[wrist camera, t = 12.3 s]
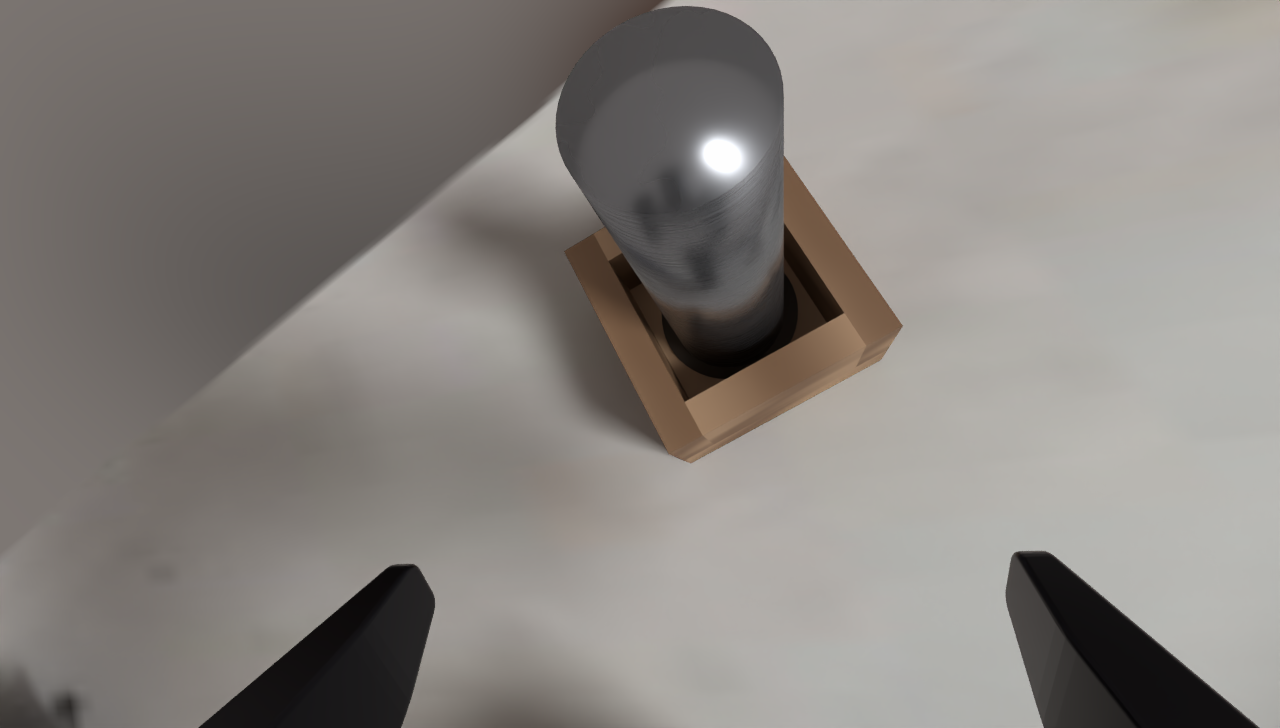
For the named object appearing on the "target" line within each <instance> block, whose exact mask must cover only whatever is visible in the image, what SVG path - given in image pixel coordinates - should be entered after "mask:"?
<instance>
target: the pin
mask: <svg viewBox="0 0 1280 728" xmlns="http://www.w3.org/2000/svg"><path fill="white" fill-rule="evenodd" d="M556 137H557V143H558V147H559V151H560V154H561V157H562V159H563V161H564V164H565V166H566V167H567V169H568V171H569V172H570V174H571V176H572V177H573V179H574V180H575V182H576V183H577V185H578V186H579V188H580V189H581V191H582V192H583V194H584V195H585V197H586V198H587V200H588V201H589V203H590V204H591V206H592V208H593V209H594V211H595V212H596V214H597V215H598V217H599V218H600V220H601V221H602V223H603V224H604V226H605V227H606V229H607V230H608V232H609V233H610V235H611V236H612V238H613V239H614V241H615V242H616V244H617V246H618V247H619V249H620V250H621V252H622V253H623V255H624V256H625V258H626V259H627V261H628V262H629V264H630V265H631V267H632V268H633V270H634V271H635V273H636V274H637V276H638V277H639V279H640V280H641V282H642V283H643V285H644V287H645V288H646V290H647V291H648V293H649V294H650V296H651V297H652V299H653V300H654V302H655V303H656V305H657V306H658V308H659V309H660V311H661V312H662V314H663V315H664V317H665V318H666V320H667V321H668V323H669V325H670V326H671V328H672V329H673V331H674V332H675V334H676V335H677V337H678V338H679V340H680V341H681V343H682V344H683V346H684V347H685V348H686V349H687V351H688V352H689V353H690V354H692V355H693V356H694V357H695V358H697V359H698V360H700V361H702V362H704V363H706V364H709V365H712V366H717V367H737V366H742V365H745V364H748V363H750V362H752V361H754V360H756V359H758V358H759V357H761V356H762V355H763V354H765V353H766V352H767V351H768V350H769V349H770V348H771V346H772V345H773V344H774V342H775V341H776V339H777V337H778V336H779V333H780V331H781V328H782V324H783V316H784V95H783V81H782V76H781V71H780V68H779V66H778V63H777V60H776V58H775V56H774V54H773V52H772V51H771V49H770V47H769V46H768V44H767V43H766V42H765V41H764V39H763V38H762V37H761V36H760V35H759V34H758V33H757V32H756V31H755V30H754V29H753V28H751V27H750V26H749V25H747V24H746V23H744V22H743V21H741V20H740V19H737V18H735V17H733V16H731V15H729V14H727V13H724V12H721V11H717V10H714V9H709V8H703V7H692V6H681V7H669V8H663V9H658V10H654V11H651V12H647V13H644V14H641V15H639V16H636V17H634V18H631V19H629V20H627V21H626V22H624V23H622V24H620V25H618V26H616V27H615V28H613V29H612V30H611V31H609V32H607V33H606V34H605V35H603V36H602V37H601V38H600V39H599V40H598V41H596V42H595V43H594V44H593V45H592V46H591V47H590V48H589V49H588V50H587V51H586V52H585V53H584V54H583V56H582V57H581V58H580V60H579V61H578V62H577V63H576V65H575V67H574V68H573V70H572V72H571V73H570V75H569V76H568V78H567V81H566V83H565V85H564V87H563V89H562V93H561V96H560V99H559V102H558V108H557V113H556Z"/></svg>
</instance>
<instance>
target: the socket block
mask: <svg viewBox="0 0 1280 728" xmlns="http://www.w3.org/2000/svg"><path fill="white" fill-rule="evenodd" d="M564 252H565V254H566V256H567V258H568V260H569V262H570V264H571V265H572V267H573V269H574V271H575V273H576V275H577V277H578V279H579V281H580V283H581V285H582V287H583V289H584V291H585V293H586V295H587V296H588V298H589V300H590V302H591V304H592V306H593V308H594V310H595V312H596V314H597V316H598V318H599V320H600V322H601V324H602V326H603V327H604V329H605V331H606V333H607V335H608V337H609V339H610V341H611V343H612V345H613V347H614V349H615V351H616V353H617V355H618V357H619V358H620V360H621V362H622V364H623V366H624V368H625V370H626V372H627V374H628V376H629V378H630V380H631V382H632V384H633V386H634V387H635V389H636V391H637V393H638V395H639V397H640V399H641V401H642V403H643V405H644V407H645V409H646V411H647V413H648V415H649V417H650V418H651V420H652V422H653V424H654V426H655V428H656V430H657V432H658V434H659V436H660V438H661V440H662V442H663V444H664V446H665V448H666V449H667V451H668V453H669V454H670V455H672V456H675V457H677V458H680V459H682V460H684V461H687V462H689V463H692V462H694V461H696V460H698V459H700V458H701V457H703V456H705V455H707V454H709V453H711V452H712V451H714V450H716V449H718V448H720V447H722V446H724V445H725V444H727V443H729V442H731V441H733V440H735V439H736V438H738V437H740V436H742V435H744V434H746V433H747V432H749V431H751V430H753V429H755V428H757V427H758V426H760V425H762V424H764V423H766V422H768V421H769V420H771V419H773V418H775V417H777V416H779V415H781V414H782V413H784V412H786V411H788V410H790V409H792V408H793V407H795V406H797V405H799V404H801V403H803V402H804V401H806V400H808V399H810V398H812V397H814V396H815V395H817V394H819V393H821V392H823V391H825V390H826V389H828V388H830V387H832V386H834V385H836V384H838V383H839V382H841V381H843V380H845V379H847V378H849V377H850V376H852V375H854V374H856V373H858V372H860V371H861V370H863V369H865V368H867V367H869V366H871V365H872V364H874V363H876V362H878V361H880V360H881V359H882V357H883V356H884V354H885V353H886V351H887V350H888V348H889V347H890V345H891V343H892V342H893V340H894V339H895V337H896V336H897V334H898V333H899V331H900V329H901V328H902V324H901V323H900V321H899V320H898V318H897V317H896V316H895V314H894V313H893V311H892V310H891V308H890V307H889V306H888V304H887V303H886V301H885V300H884V298H883V297H882V295H881V294H880V293H879V291H878V290H877V288H876V287H875V285H874V284H873V283H872V281H871V280H870V278H869V277H868V275H867V274H866V273H865V271H864V270H863V268H862V267H861V265H860V264H859V263H858V261H857V260H856V258H855V257H854V255H853V254H852V252H851V251H850V250H849V248H848V247H847V245H846V244H845V242H844V241H843V240H842V238H841V237H840V235H839V234H838V232H837V231H836V230H835V228H834V227H833V225H832V224H831V222H830V221H829V220H828V218H827V217H826V215H825V214H824V212H823V211H822V209H821V208H820V207H819V205H818V204H817V202H816V201H815V199H814V198H813V197H812V195H811V194H810V192H809V191H808V189H807V188H806V187H805V185H804V184H803V182H802V181H801V179H800V178H799V177H798V175H797V174H796V172H795V171H794V169H793V168H792V166H791V165H790V164H789V162H788V161H787V159H786V158H785V156H784V316H783V324H782V328H781V331H780V333H779V336H778V337H777V339H776V341H775V342H774V344H773V345H772V346H771V348H770V349H769V350H768V351H767V352H766V353H765V354H763V355H762V356H761V357H759V358H758V359H756V360H754V361H752V362H750V363H748V364H745V365H742V366H737V367H717V366H712V365H709V364H706V363H704V362H702V361H700V360H698V359H697V358H695V357H694V356H693V355H692V354H690V353H689V352H688V351H687V349H686V348H685V347H684V346H683V344H682V343H681V341H680V340H679V338H678V337H677V335H676V334H675V332H674V331H673V329H672V328H671V326H670V325H669V323H668V321H667V320H666V318H665V317H664V315H663V314H662V312H661V311H660V309H659V308H658V306H657V305H656V303H655V302H654V300H653V299H652V297H651V296H650V294H649V293H648V291H647V290H646V288H645V287H644V285H643V283H642V282H641V280H640V279H639V277H638V276H637V274H636V273H635V271H634V270H633V268H632V267H631V265H630V264H629V262H628V261H627V259H626V258H625V256H624V255H623V253H622V252H621V250H620V249H619V247H618V246H617V244H616V242H615V241H614V239H613V238H612V236H611V235H610V233H609V232H608V230H607V229H606V227H604V228H602V229H601V230H599V231H597V232H596V233H594V234H592V235H591V236H589V237H587V238H586V239H584V240H582V241H581V242H579V243H577V244H576V245H574V246H572V247H571V248H569V249H567V250H566V251H564Z"/></svg>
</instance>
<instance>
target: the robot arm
mask: <svg viewBox="0 0 1280 728" xmlns="http://www.w3.org/2000/svg"><path fill="white" fill-rule="evenodd" d="M1006 603H1007V607H1008V611H1009V614H1010V618H1011V621H1012V624H1013V628H1014V631H1015V634H1016V638H1017V641H1018V645H1019V648H1020V651H1021V655H1022V658H1023V661H1024V665H1025V668H1026V671H1027V675H1028V678H1029V681H1030V685H1031V688H1032V691H1033V695H1034V698H1035V701H1036V705H1037V708H1038V711H1039V714H1040V717H1041V720H1042V724H1043V726H1044V728H1259V727H1258V726H1257V725H1256V724H1254V723H1253V722H1252V721H1251V720H1250V719H1248V718H1247V717H1246V716H1245V715H1244V714H1242V713H1241V712H1240V711H1239V710H1238V709H1237V708H1235V707H1234V706H1233V705H1232V704H1231V703H1229V702H1228V701H1227V700H1226V699H1225V698H1223V697H1222V696H1221V695H1220V694H1219V693H1217V692H1216V691H1215V690H1214V689H1213V688H1211V687H1210V686H1209V685H1208V684H1207V683H1205V682H1204V681H1203V680H1202V679H1201V678H1200V677H1198V676H1197V675H1196V674H1195V673H1194V672H1192V671H1191V670H1190V669H1189V668H1188V667H1186V666H1185V665H1184V664H1183V663H1182V662H1180V661H1179V660H1178V659H1177V658H1176V657H1174V656H1173V655H1172V654H1171V653H1170V652H1168V651H1167V650H1166V649H1165V648H1164V647H1163V646H1161V645H1160V644H1159V643H1158V642H1157V641H1155V640H1154V639H1153V638H1152V637H1151V636H1149V635H1148V634H1147V633H1146V632H1145V631H1143V630H1142V629H1141V628H1140V627H1139V626H1137V625H1136V624H1135V623H1134V622H1133V621H1131V620H1130V619H1129V618H1128V617H1127V616H1125V615H1124V614H1123V613H1122V612H1121V611H1120V610H1118V609H1117V608H1116V607H1115V606H1114V605H1112V604H1111V603H1110V602H1109V601H1108V600H1106V599H1105V598H1104V597H1103V596H1102V595H1100V594H1099V593H1098V592H1097V591H1096V590H1094V589H1093V588H1092V587H1091V586H1090V585H1088V584H1087V583H1086V582H1085V581H1084V580H1083V579H1081V578H1080V577H1079V576H1078V575H1077V574H1075V573H1074V572H1073V571H1072V570H1071V569H1069V568H1068V567H1067V566H1066V565H1065V564H1063V563H1062V562H1061V561H1060V560H1059V559H1057V558H1056V557H1055V556H1054V555H1052V554H1051V553H1048V552H1046V551H1018V552H1015V553H1014V554H1013V555H1012V558H1011V562H1010V568H1009V574H1008V580H1007V585H1006ZM434 609H435V598H434V594H433V592H432V590H431V589H430V587H429V585H428V583H427V581H426V580H425V578H424V576H423V574H422V572H421V571H420V569H419V568H418V567H417V566H416V565H414V564H396V565H392V566H390V567H388V568H387V569H385V570H384V571H383V572H382V573H381V574H379V575H378V576H377V577H376V578H375V579H374V580H372V581H371V582H370V583H369V584H368V585H366V586H365V587H364V588H363V589H362V590H361V591H359V592H358V593H357V594H356V595H355V596H353V597H352V598H351V599H350V600H349V601H348V602H346V603H345V604H344V605H343V606H342V607H340V608H339V609H338V610H337V611H336V612H335V613H333V614H332V615H331V616H330V617H329V618H327V619H326V620H325V621H324V622H323V623H322V624H320V625H319V626H318V627H317V628H316V629H314V630H313V631H312V632H311V633H310V634H309V635H307V636H306V637H305V638H304V639H303V640H302V641H300V642H299V643H298V644H297V645H296V646H294V647H293V648H292V649H291V650H290V651H289V652H287V653H286V654H285V655H284V656H283V657H281V658H280V659H279V660H278V661H277V662H276V663H274V664H273V665H272V666H271V667H270V668H268V669H267V670H266V671H265V672H264V673H263V674H261V675H260V676H259V677H258V678H257V679H255V680H254V681H253V682H252V683H251V684H250V685H248V686H247V687H246V688H245V689H244V690H242V691H241V692H240V693H239V694H238V695H237V696H235V697H234V698H233V699H232V700H231V701H229V702H228V703H227V704H226V705H225V706H224V707H222V708H221V709H220V710H219V711H218V712H216V713H215V714H214V715H213V716H212V717H211V718H209V719H208V720H207V721H206V722H205V723H203V724H202V725H201V726H200V727H199V728H401V726H402V724H403V721H404V718H405V715H406V712H407V709H408V706H409V703H410V700H411V697H412V693H413V690H414V686H415V683H416V679H417V675H418V671H419V667H420V663H421V660H422V656H423V652H424V648H425V644H426V641H427V637H428V633H429V629H430V625H431V621H432V618H433V614H434Z"/></svg>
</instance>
